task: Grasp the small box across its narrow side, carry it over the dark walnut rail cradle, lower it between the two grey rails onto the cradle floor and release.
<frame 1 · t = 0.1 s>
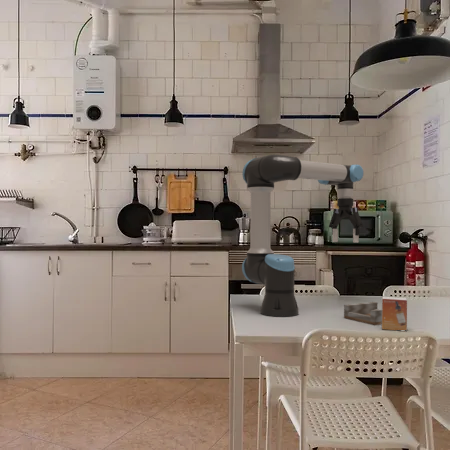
hand: (345, 242, 217), 28 cm above the table, fingers open, 13 cm apart
small box: (394, 329, 153), on the table
cradle: (374, 319, 169), on the table
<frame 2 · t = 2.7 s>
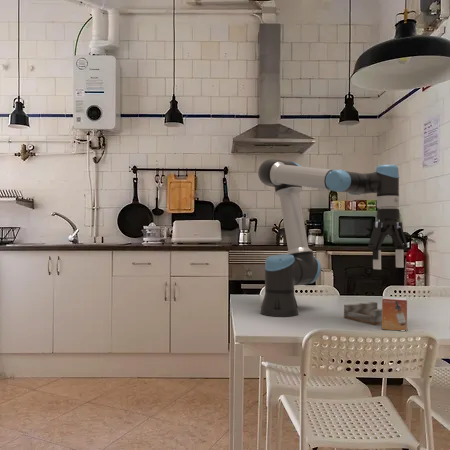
hand: (388, 268, 160), 20 cm above the table, fingers open, 13 cm apart
nothing on the table moved.
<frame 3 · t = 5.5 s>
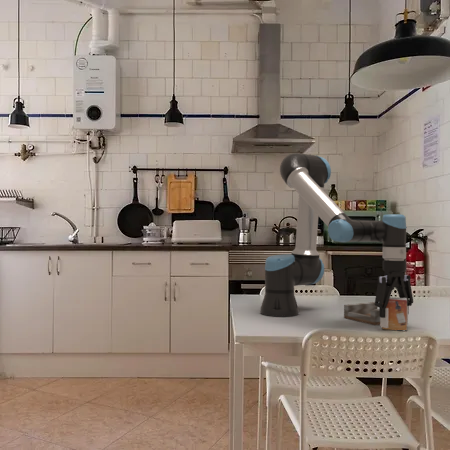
hand: (394, 325, 153), 1 cm above the table, fingers closed on small box, 9 cm apart
small box: (394, 329, 153), on the table, touching gripper
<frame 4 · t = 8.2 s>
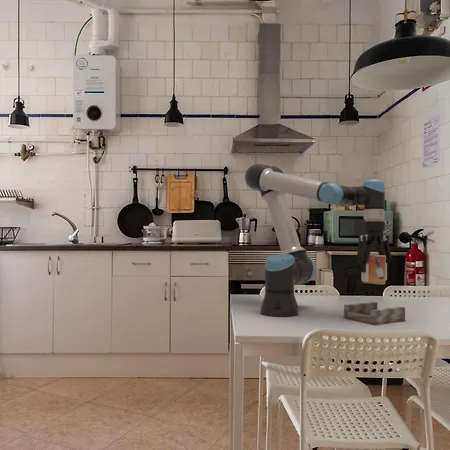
hand: (374, 280, 170), 15 cm above the table, fingers closed on small box, 9 cm apart
small box: (374, 283, 170), point 13 cm above the table, touching gripper
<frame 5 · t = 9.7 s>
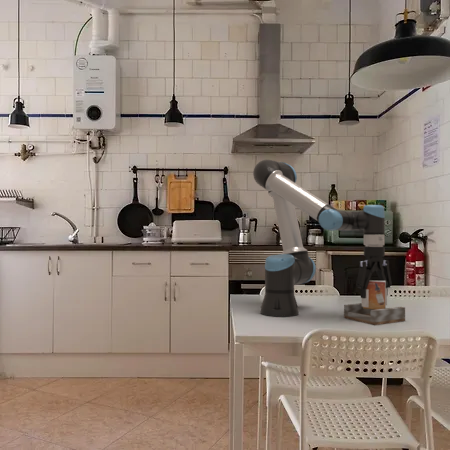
hand: (374, 305, 169), 5 cm above the table, fingers closed on small box, 9 cm apart
small box: (374, 309, 169), point 4 cm above the table, touching gripper
when the fingers open (4 cm above the table, at t = 10.9 s): small box drops 2 cm, resting on cradle.
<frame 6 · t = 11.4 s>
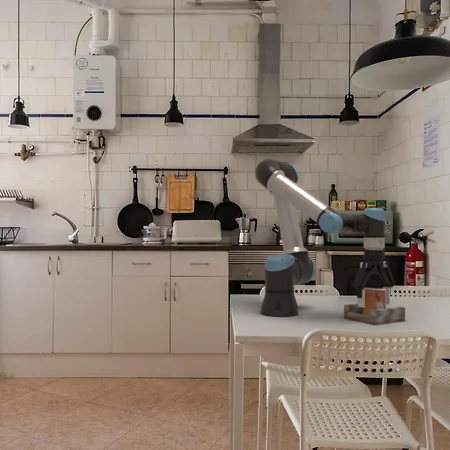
hand: (374, 305, 170), 5 cm above the table, fingers open, 13 cm apart
small box: (374, 317, 170), point 1 cm above the table, touching cradle
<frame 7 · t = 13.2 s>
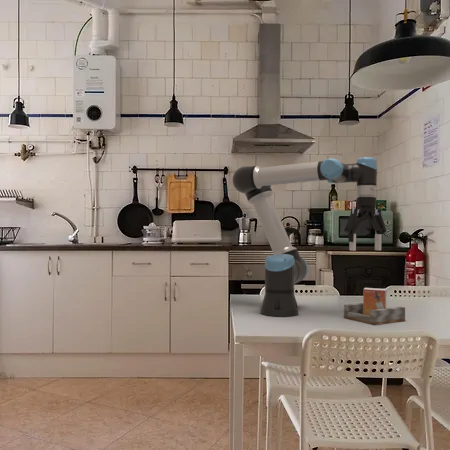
hand: (365, 250, 178), 26 cm above the table, fingers open, 13 cm apart
nothing on the table moved.
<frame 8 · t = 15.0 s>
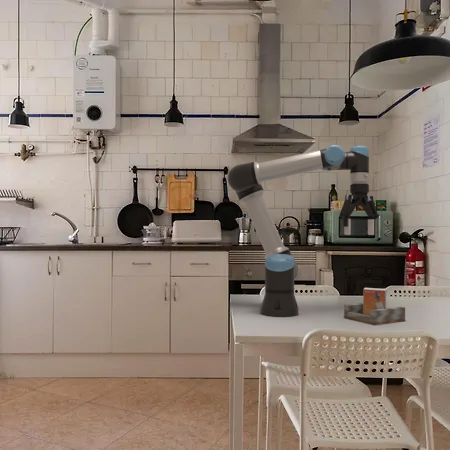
hand: (359, 234, 187), 32 cm above the table, fingers open, 13 cm apart
nothing on the table moved.
at the end: small box inside the target area on the cradle (0.4 cm from its centre), point 0.8 cm above the cradle's base; small box tilted 0°; the gripper is holding nothing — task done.
